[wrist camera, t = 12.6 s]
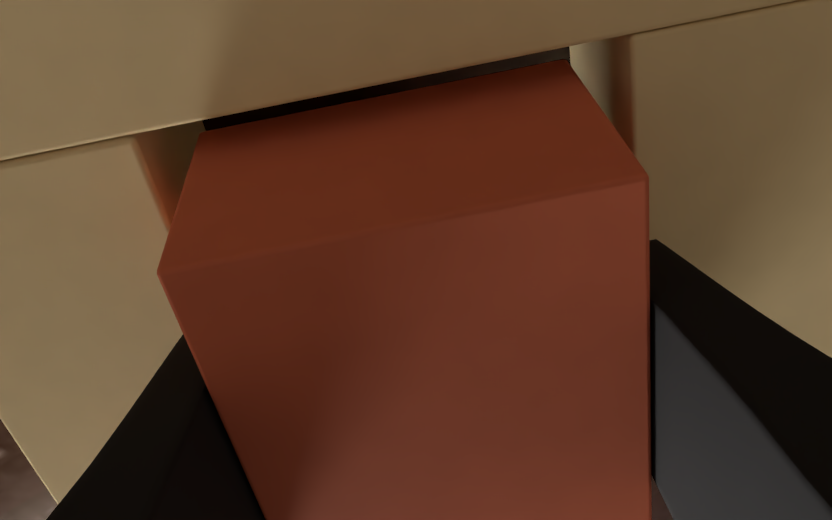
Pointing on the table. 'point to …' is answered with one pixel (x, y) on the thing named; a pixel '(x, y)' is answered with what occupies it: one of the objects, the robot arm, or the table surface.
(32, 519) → the table surface
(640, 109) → the notched tile
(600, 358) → the small block
